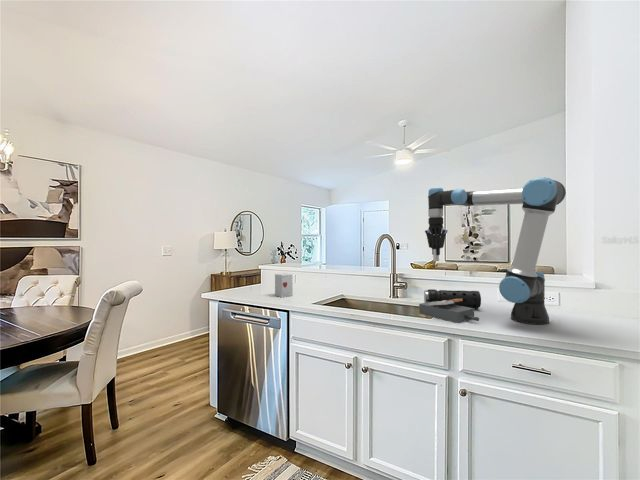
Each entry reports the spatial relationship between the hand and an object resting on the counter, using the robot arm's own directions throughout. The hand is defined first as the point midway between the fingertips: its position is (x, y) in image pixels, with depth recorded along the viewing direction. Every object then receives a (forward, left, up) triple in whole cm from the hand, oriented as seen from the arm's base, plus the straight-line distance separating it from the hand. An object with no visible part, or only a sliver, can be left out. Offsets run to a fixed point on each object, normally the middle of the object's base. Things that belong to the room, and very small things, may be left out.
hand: (436, 261), depth 174 cm
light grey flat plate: (-11, +10, -19) cm, 25 cm away
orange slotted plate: (-11, +4, -19) cm, 23 cm away
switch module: (-14, +7, -26) cm, 31 cm away
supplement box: (+86, +49, -27) cm, 103 cm away
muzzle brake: (-2, -10, -27) cm, 29 cm away
